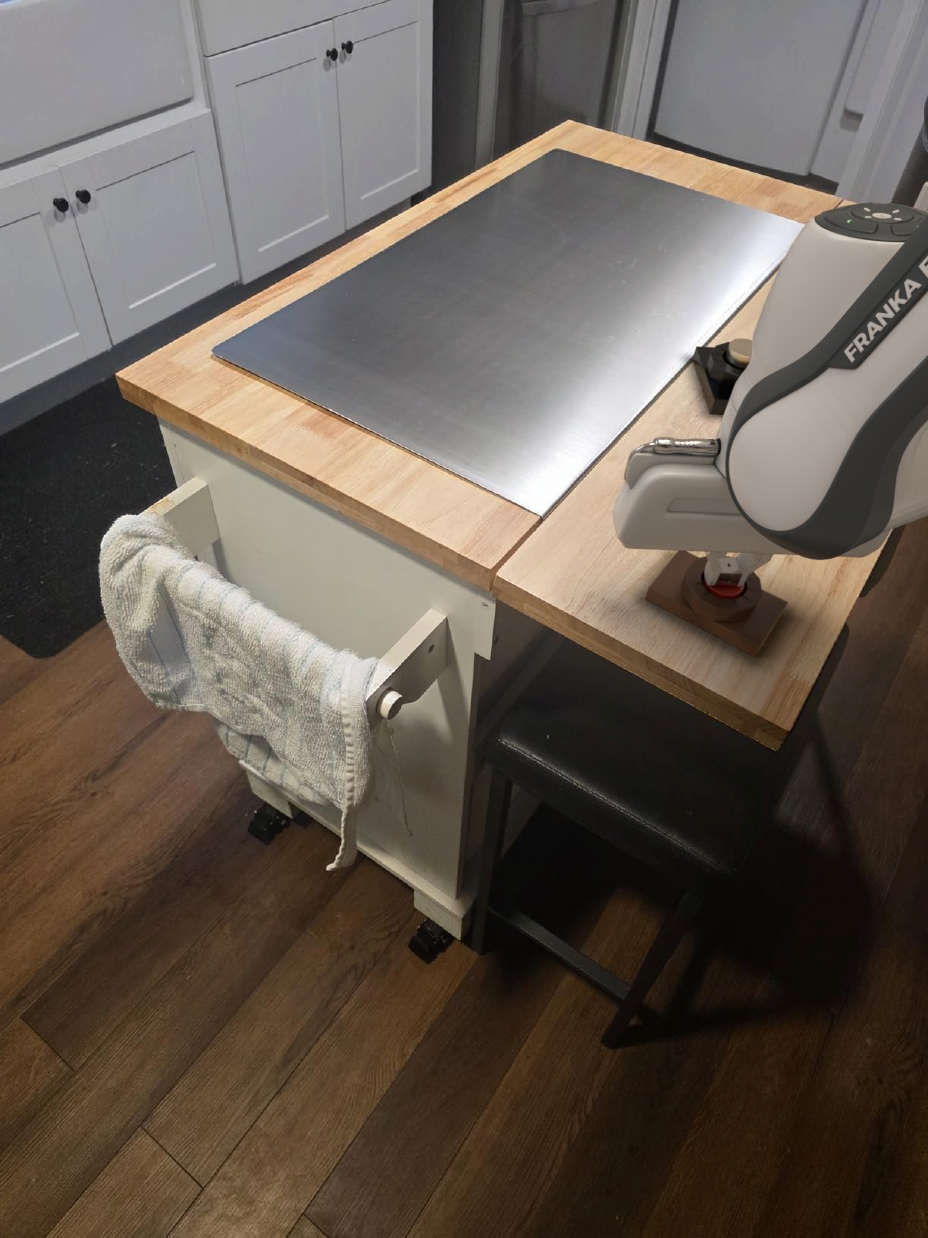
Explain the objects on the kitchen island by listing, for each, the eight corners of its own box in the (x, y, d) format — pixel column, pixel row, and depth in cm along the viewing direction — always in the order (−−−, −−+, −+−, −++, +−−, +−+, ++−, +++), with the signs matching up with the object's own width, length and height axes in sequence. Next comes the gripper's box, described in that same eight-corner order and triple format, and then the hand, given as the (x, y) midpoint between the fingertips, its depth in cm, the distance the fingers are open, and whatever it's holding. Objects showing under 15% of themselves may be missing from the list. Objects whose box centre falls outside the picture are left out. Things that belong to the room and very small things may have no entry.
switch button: (753, 353, 93) (759, 339, 92) (762, 373, 91) (767, 358, 90) (721, 351, 93) (726, 337, 92) (728, 371, 91) (733, 356, 89)
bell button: (744, 590, 72) (750, 578, 71) (729, 613, 71) (734, 600, 69) (709, 573, 73) (715, 560, 72) (693, 595, 72) (698, 582, 70)
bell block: (782, 612, 73) (795, 588, 71) (754, 657, 70) (766, 633, 68) (676, 558, 77) (685, 534, 74) (644, 598, 73) (652, 574, 71)
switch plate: (753, 362, 98) (763, 334, 95) (775, 417, 91) (786, 388, 89) (692, 359, 97) (700, 331, 95) (709, 413, 91) (719, 385, 88)
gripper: (641, 467, 57) (600, 605, 68) (939, 480, 59) (854, 613, 69) (627, 408, 62) (591, 547, 72) (906, 422, 63) (831, 557, 73)
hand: (722, 580), depth 71 cm, fingers closed, pressing on bell button
